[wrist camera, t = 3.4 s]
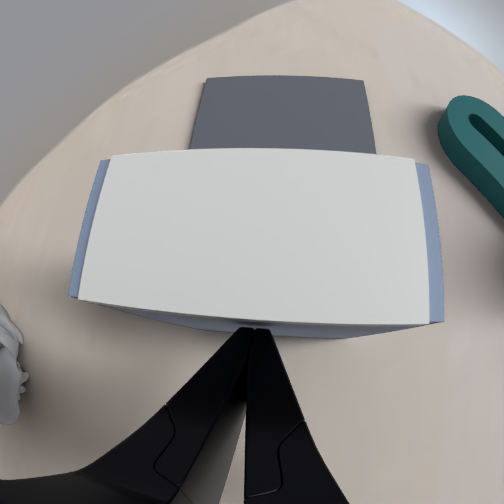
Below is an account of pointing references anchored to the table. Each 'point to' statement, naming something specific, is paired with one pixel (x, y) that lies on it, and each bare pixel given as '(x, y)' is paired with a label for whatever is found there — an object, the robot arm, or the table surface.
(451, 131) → the bracket
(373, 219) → the book block
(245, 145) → the mat
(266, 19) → the table surface
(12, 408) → the skull
